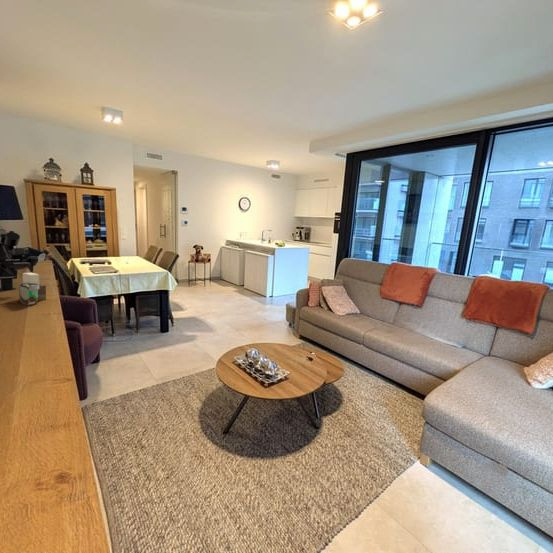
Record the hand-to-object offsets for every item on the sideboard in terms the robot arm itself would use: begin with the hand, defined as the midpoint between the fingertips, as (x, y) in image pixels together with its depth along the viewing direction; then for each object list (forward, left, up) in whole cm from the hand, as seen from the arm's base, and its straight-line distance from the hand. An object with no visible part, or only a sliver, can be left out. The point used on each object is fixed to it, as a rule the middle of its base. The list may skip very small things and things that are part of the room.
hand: (22, 273), depth 165 cm
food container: (+19, -4, -13) cm, 23 cm away
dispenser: (+13, -1, -13) cm, 18 cm away
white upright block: (+9, 0, -13) cm, 16 cm away
